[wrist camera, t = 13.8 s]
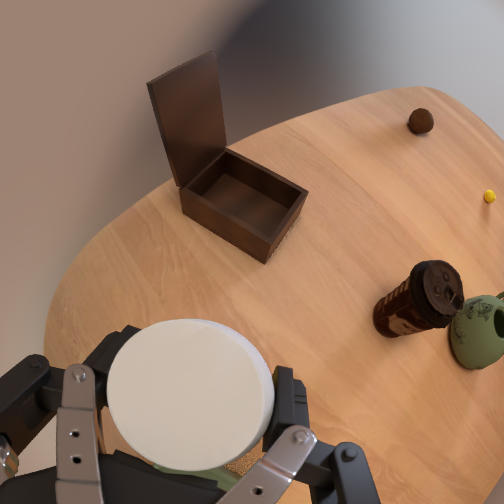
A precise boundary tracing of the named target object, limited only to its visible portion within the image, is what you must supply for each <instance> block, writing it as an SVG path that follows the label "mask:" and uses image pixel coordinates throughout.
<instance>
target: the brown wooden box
mask: <svg viewBox="0 0 504 504" xmlns="http://www.w3.org/2000/svg"><path fill="white" fill-rule="evenodd" d="M179 193H180V199H181V205H182V212H183V214H185V215H186V216H188V217H190V218H191V219H193V220H194V221H196V222H198V223H199V224H201V225H202V226H204V227H205V228H207V229H209V230H210V231H212V232H213V233H215V234H217V235H218V236H220V237H221V238H223V239H225V240H226V241H228V242H229V243H231V244H233V245H234V246H236V247H237V248H239V249H241V250H242V251H244V252H245V253H247V254H249V255H250V256H252V257H253V258H255V259H257V260H258V261H260V262H261V263H263V264H265V263H266V262H267V261H268V259H269V258H270V256H271V255H272V253H273V252H274V250H275V249H276V248H277V246H278V245H279V243H280V242H281V240H282V239H283V237H284V236H285V235H286V233H287V232H288V230H289V229H290V227H291V226H292V224H293V223H294V221H295V220H296V218H297V217H298V215H299V214H300V211H301V209H302V207H303V204H304V202H305V200H306V197H307V195H308V193H309V191H307V190H305V189H304V188H302V187H300V186H298V185H297V184H295V183H293V182H291V181H289V180H288V179H286V178H284V177H282V176H280V175H278V174H277V173H275V172H273V171H271V170H269V169H267V168H265V167H263V166H262V165H260V164H258V163H256V162H254V161H252V160H250V159H248V158H246V157H244V156H242V155H240V154H238V153H236V152H234V151H232V150H230V149H228V148H226V147H224V148H223V149H222V150H220V151H219V152H218V153H217V154H216V155H215V156H214V157H213V158H212V159H210V160H209V161H208V162H207V163H206V164H205V165H204V166H203V167H202V168H201V169H200V170H199V171H197V172H196V173H195V174H194V175H193V176H192V177H191V178H190V179H189V180H188V181H187V182H186V183H185V184H184V185H183V186H182V187H181V188H180V189H179Z"/></svg>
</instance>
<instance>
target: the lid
mask: <svg viewBox="0 0 504 504" xmlns="http://www.w3.org/2000/svg"><path fill="white" fill-rule="evenodd" d="M147 87H148V91H149V95H150V99H151V103H152V106H153V110H154V113H155V117H156V120H157V124H158V127H159V131H160V134H161V138H162V141H163V144H164V148H165V151H166V154H167V158H168V161H169V164H170V167H171V170H172V174H173V177H174V180H175V183H176V186H178V187H182V186H183V185H184V184H185V183H186V182H187V181H188V180H189V179H190V178H191V177H192V176H193V175H194V174H195V173H196V172H197V171H199V170H200V169H201V168H202V167H203V166H204V165H205V164H206V163H207V162H208V161H209V160H210V159H212V158H213V157H214V156H215V155H216V154H217V153H218V152H219V151H220V150H222V149H223V148H224V147H225V146H226V145H227V143H226V134H225V126H224V118H223V110H222V102H221V93H220V86H219V76H218V68H217V59H216V52H215V51H209V52H207V53H205V54H202V55H200V56H198V57H196V58H194V59H191V60H190V61H187V62H185V63H183V64H182V65H179V66H177V67H175V68H173V69H171V70H170V71H168V72H166V73H164V74H162V75H160V76H159V77H157V78H155V79H153V80H151V81H150V82H148V83H147Z"/></svg>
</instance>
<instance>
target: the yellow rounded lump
mask: <svg viewBox="0 0 504 504" xmlns="http://www.w3.org/2000/svg"><path fill="white" fill-rule="evenodd" d="M484 197H485V200H486V201H487V202H488V203H492V202H494V200H495V193H494V192H493V191H492V190H487V191H486V192H485V195H484Z"/></svg>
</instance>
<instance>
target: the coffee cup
mask: <svg viewBox="0 0 504 504" xmlns="http://www.w3.org/2000/svg"><path fill="white" fill-rule="evenodd" d="M463 303H464V295H463V286H462V281H461V279H460V275H459V273H458V272H457V271H456V270H455V269H454V268H453V267H452V266H451V265H450V264H449V263H447V262H445V261H442V260H430V261H422V262H420V263H418V264H417V265H415V266H414V268H413V269H412V271H411V273H410V276H409V277H408V278H407V279H406V280H405V281H403V282H402V283H401V285H400V286H399V287H397V288H395V289H394V291H392V292H391V293H389V294H388V295H387V296H386V297H383V298H381V299H380V300H379V301H378V303H377V305H376V306H375V309H374V313H373V320H374V325H375V327H376V328H377V330H378V331H379V332H380V333H381V334H382V335H383V336H386V337H390V338H395V337H398V336H402V335H410V334H414V333H418V332H422V331H426V330H430V329H433V328H445V327H446V326H448V325H449V324H450V323H452V319H453V317H455V315H456V313H458V310H462V309H463Z"/></svg>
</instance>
